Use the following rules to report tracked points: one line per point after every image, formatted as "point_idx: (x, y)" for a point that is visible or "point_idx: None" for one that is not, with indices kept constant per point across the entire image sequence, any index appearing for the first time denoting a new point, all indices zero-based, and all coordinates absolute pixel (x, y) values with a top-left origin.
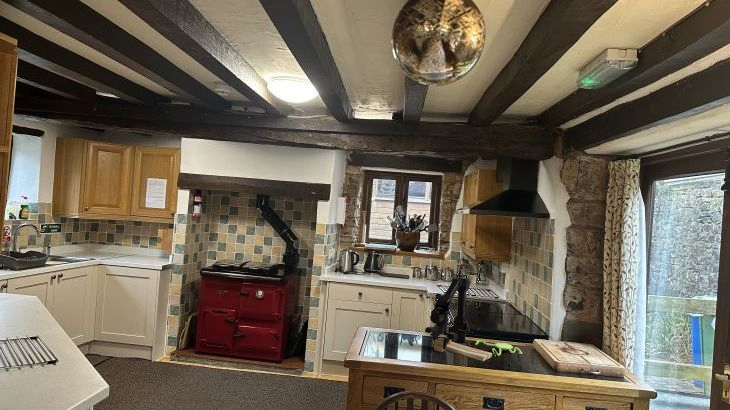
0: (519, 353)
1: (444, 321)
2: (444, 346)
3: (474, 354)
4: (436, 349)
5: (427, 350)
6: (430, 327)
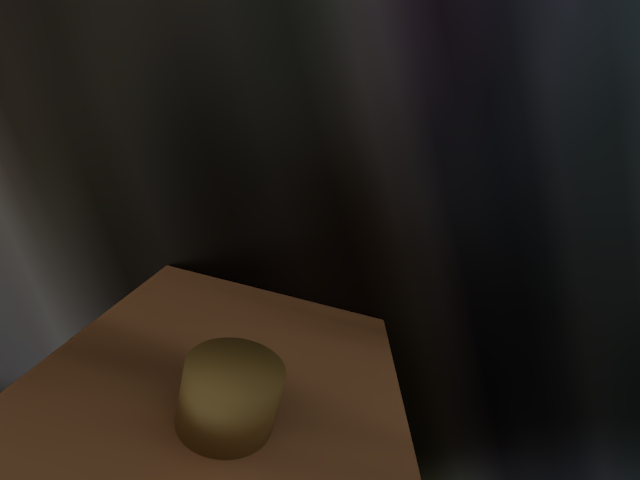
0: None
1: None
2: None
3: None
4: (309, 313)
5: (525, 147)
6: None
